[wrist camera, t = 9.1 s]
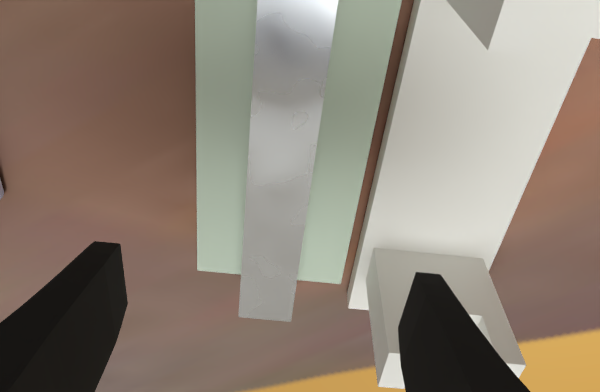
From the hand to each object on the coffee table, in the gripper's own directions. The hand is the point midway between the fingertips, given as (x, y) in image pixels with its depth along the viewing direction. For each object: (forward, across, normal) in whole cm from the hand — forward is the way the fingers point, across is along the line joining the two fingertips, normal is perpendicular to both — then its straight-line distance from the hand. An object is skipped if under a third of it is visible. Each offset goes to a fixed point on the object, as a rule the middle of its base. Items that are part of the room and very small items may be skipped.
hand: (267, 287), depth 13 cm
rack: (+9, -7, 0) cm, 12 cm away
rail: (+9, 0, 0) cm, 9 cm away
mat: (+9, 0, 0) cm, 9 cm away
